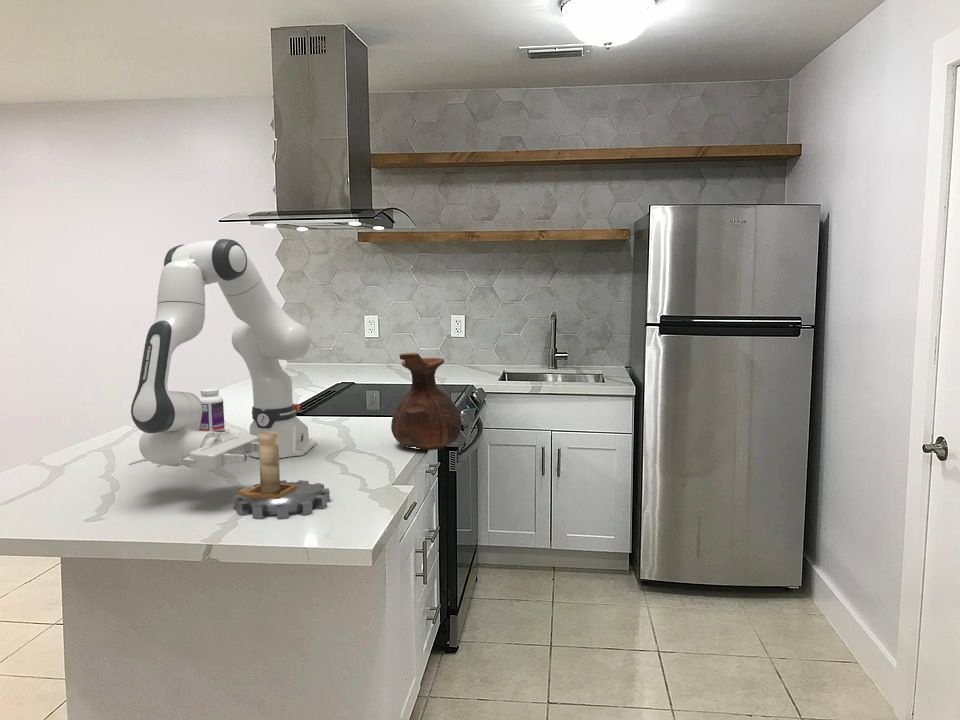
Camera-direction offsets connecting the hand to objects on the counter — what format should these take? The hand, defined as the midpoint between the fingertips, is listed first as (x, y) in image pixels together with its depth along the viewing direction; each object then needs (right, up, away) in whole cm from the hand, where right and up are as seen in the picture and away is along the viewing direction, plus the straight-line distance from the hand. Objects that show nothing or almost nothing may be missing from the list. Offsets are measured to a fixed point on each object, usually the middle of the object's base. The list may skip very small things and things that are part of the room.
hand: (256, 453), depth 181 cm
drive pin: (+3, -9, 0) cm, 10 cm away
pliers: (-39, -7, +40) cm, 56 cm away
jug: (+36, -5, +56) cm, 66 cm away
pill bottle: (-36, -2, +74) cm, 82 cm away
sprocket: (+6, -12, 0) cm, 13 cm away
